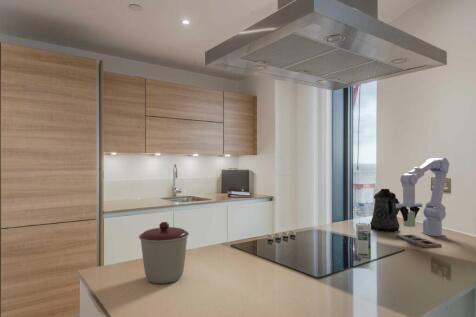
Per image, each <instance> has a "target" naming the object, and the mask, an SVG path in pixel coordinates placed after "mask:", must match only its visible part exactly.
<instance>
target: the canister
mask: <svg viewBox="0 0 476 317" xmlns="http://www.w3.org/2000/svg"><path fill="white" fill-rule="evenodd" d="M189 235H190V232H188V231H187V230H186V229H183V228H181V227H175V226H174V227H173V226H172V227H171V226H170V223H169V222H167V221H161V222H160V223H159V227H155V228H150V229H147V230H145V231H143V232H142V233H141V234H139V236H138V239H139V240H140V242H141V243H140V246H141V252H142V260H143V261H142V262H143V267H144V269H143V270H144V274H145V277H146V279H147V281H148V282H150V283H153V284H164V285H166V284H169V283H174V282H177V281H178V280H179V279H180V278H181V277H182V276H183V273H184V270H185V269H184V268H185V262H186V252H187V251H186V250H187V244H188V242H187V241H188V237H189Z"/></svg>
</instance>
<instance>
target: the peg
mask: <svg viewBox="0 0 476 317" xmlns="http://www.w3.org/2000/svg"><path fill="white" fill-rule="evenodd" d="M403 226H404V227H407V228H415V227H416V218H415V212H413V211H410V210H408V215H407V221H404V220H403Z"/></svg>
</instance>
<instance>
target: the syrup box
mask: <svg viewBox="0 0 476 317" xmlns="http://www.w3.org/2000/svg"><path fill="white" fill-rule="evenodd" d="M355 227H356V228H355V230H356V232H355V234H356V235H355V236H356V237H355V238H356V239H355V240H356V242H355V244H356V256H357V258H361V257H362V258H372V247H371V244H372V243H371V239H372V238H371V237H372V236H371V235H372V234H371V230H372V229H371V225H370V222H368V223H367V222H355Z"/></svg>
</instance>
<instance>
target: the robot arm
mask: <svg viewBox="0 0 476 317" xmlns="http://www.w3.org/2000/svg"><path fill="white" fill-rule="evenodd" d="M449 168H450V162H449V159H448V158H446V157H442V158H441V157H429V158H428V159H425V162H424V163H422V165H421V166H414V167H413V169H412V170H409V171H408V172H407V173H403V174H402V175H401V176H400V183H401V187H402V199H403V200H402V201H403V202H402V203H400V204H396V208H399V212H400V213H401V216H402V219H403V220H404V221H407V215H408V211H413V212H415V219H416V218H417V215H418V213H419V211H420V210H421V209H420V208H423V203H421V202H419V203H418V202H416V184H417V183H418V181H419V180H420V179H421V178H422V177H424V176H425V172H427V171H430V172H431V173H432V174H434V181H433V187H432V191H431V197H430V200H429V201H428V202H427V203H425V207H424V208H423V211H422V212H423V216H424V217H425V218H424V219H423V222H422V231H421V233H422V234H425V235H428V236H431V237H446V236H447V234H444V233H443V220H444V219H445V218H446V215H447V214H446V206H445V205H444V204H443V203H442V202H443V200H442V199H443V194H444V189H445V185H446V179H447V175H448V173H449Z"/></svg>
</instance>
